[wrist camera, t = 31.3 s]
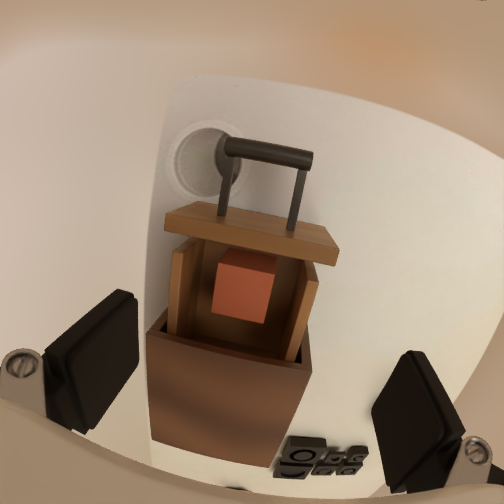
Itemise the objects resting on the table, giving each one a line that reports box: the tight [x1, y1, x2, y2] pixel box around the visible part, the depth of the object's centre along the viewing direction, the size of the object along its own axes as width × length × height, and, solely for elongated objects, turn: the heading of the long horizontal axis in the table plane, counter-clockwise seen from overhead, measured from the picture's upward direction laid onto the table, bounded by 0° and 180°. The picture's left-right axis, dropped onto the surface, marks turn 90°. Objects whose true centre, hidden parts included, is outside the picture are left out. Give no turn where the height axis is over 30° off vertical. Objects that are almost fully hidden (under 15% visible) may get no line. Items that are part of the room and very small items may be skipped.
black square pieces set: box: [240, 437, 369, 492], centre depth 36 cm, size 20×25×3 cm
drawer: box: [164, 136, 339, 363], centre depth 23 cm, size 19×11×7 cm, turn 170°
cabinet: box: [146, 307, 312, 468], centre depth 26 cm, size 15×13×9 cm
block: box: [211, 248, 277, 324], centre depth 23 cm, size 4×4×4 cm
